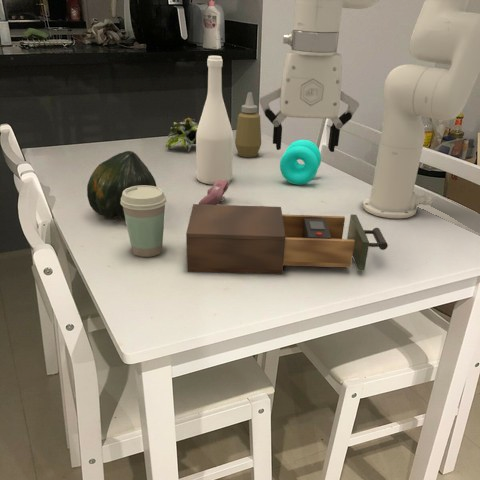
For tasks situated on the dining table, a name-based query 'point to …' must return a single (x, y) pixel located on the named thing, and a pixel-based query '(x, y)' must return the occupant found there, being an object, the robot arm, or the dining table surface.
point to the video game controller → (215, 193)
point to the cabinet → (235, 239)
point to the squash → (116, 182)
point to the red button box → (316, 229)
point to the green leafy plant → (183, 133)
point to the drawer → (328, 243)
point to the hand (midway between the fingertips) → (304, 149)
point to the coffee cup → (144, 218)
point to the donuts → (297, 171)
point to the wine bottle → (214, 131)
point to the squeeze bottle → (248, 129)
